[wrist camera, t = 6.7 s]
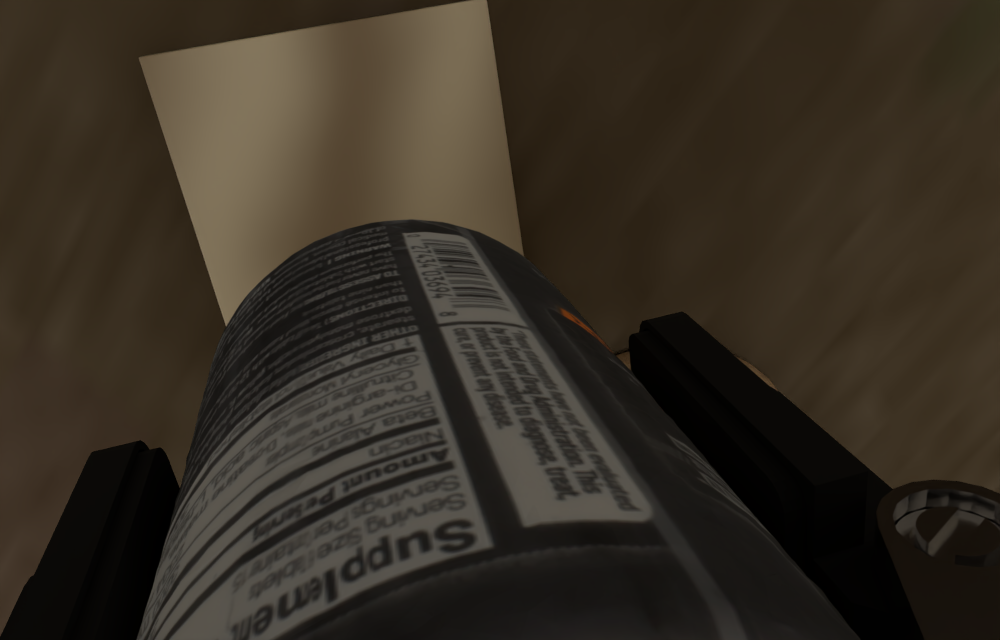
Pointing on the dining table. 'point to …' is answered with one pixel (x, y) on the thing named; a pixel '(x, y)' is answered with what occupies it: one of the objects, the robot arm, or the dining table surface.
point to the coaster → (335, 135)
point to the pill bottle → (451, 470)
